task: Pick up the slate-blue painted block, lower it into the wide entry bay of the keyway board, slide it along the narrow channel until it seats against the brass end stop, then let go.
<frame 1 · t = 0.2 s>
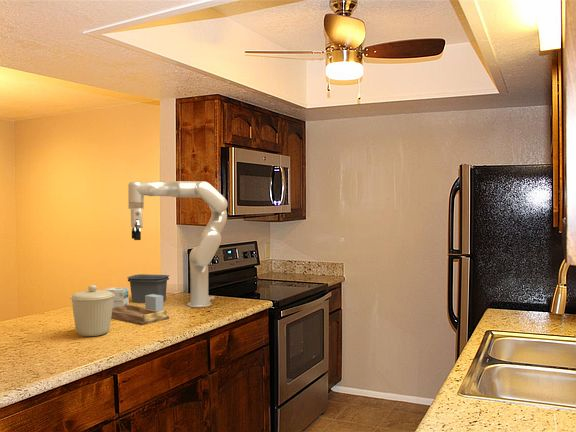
hand: (136, 239, 280), 36 cm above the worktop, tool pointing down, fingers open, 9 cm apart
canister: (93, 334, 234), on the worktop
light bulb box: (116, 309, 284), on the worktop
panel block: (154, 311, 278), on the worktop
keyway board: (135, 317, 264), on the worktop
storage bin: (149, 301, 303), on the worktop
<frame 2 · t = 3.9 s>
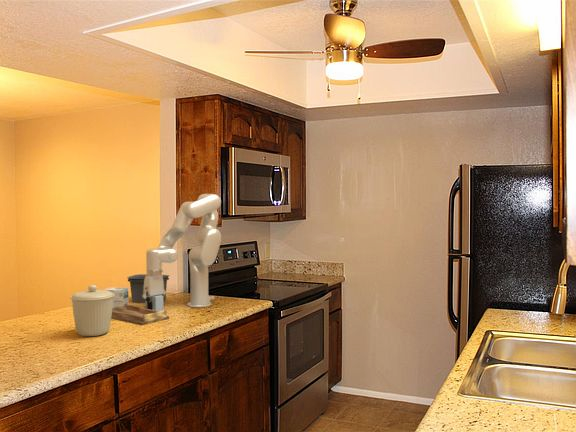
hand: (154, 308, 278), 1 cm above the worktop, tool pointing down, fingers closed on panel block, 5 cm apart
panel block: (154, 311, 278), on the worktop, touching gripper
everything else where it was.
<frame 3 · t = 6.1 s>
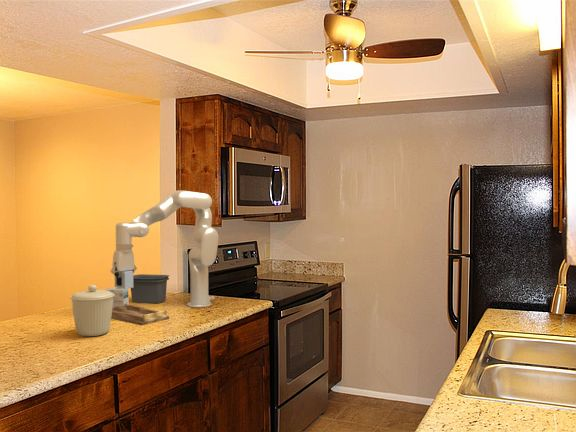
hand: (124, 284, 268), 15 cm above the worktop, tool pointing down, fingers closed on panel block, 5 cm apart
panel block: (124, 287, 268), point 14 cm above the worktop, touching gripper
everything else where it was.
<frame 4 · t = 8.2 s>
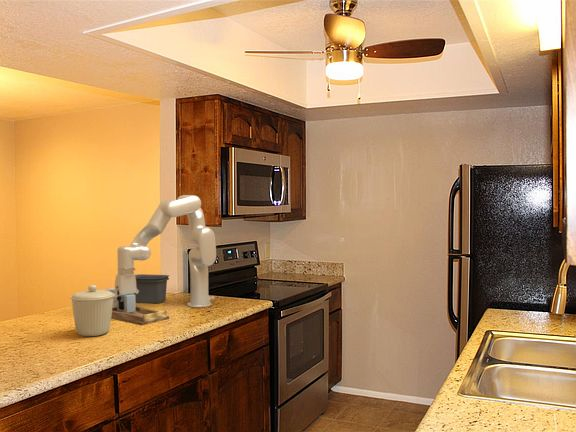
hand: (126, 307, 268), 4 cm above the worktop, tool pointing down, fingers closed on panel block, 5 cm apart
panel block: (126, 310, 268), point 2 cm above the worktop, touching gripper
everything else where it was.
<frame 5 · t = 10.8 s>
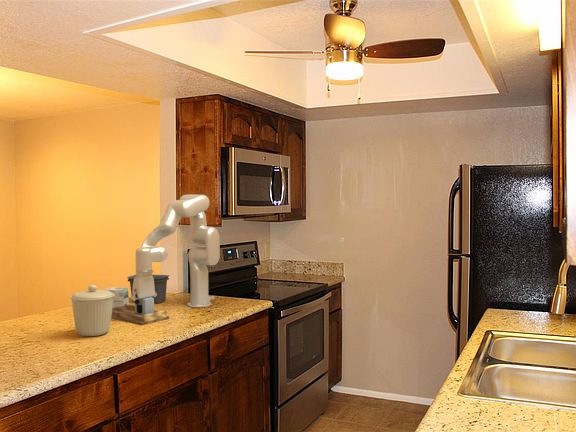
hand: (144, 311, 260), 4 cm above the worktop, tool pointing down, fingers closed on panel block, 5 cm apart
panel block: (144, 314, 260), point 2 cm above the worktop, touching gripper
everything else where it was.
when the fingers open (4 cm above the worktop, at t = 12.9 s): panel block drops 1 cm, resting on keyway board.
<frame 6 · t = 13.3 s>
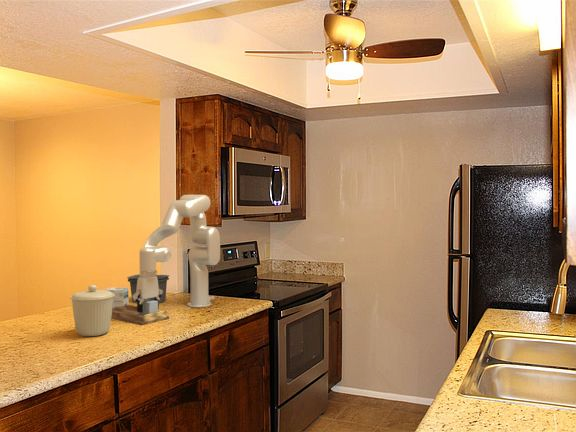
hand: (148, 310, 258), 5 cm above the worktop, tool pointing down, fingers open, 9 cm apart
panel block: (148, 317, 258), point 1 cm above the worktop, touching keyway board
everything else where it was.
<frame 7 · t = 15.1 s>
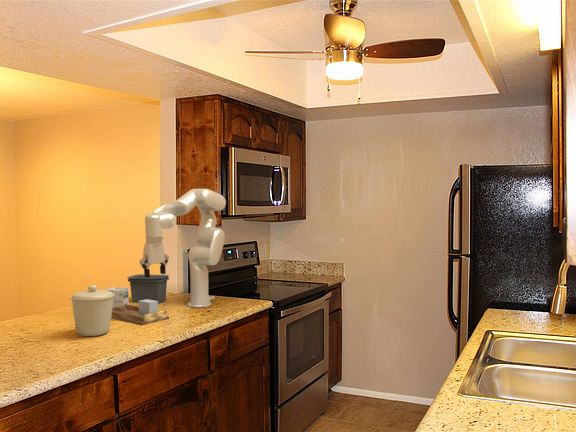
hand: (155, 275, 263), 20 cm above the worktop, tool pointing down, fingers open, 9 cm apart
nothing on the worktop moved.
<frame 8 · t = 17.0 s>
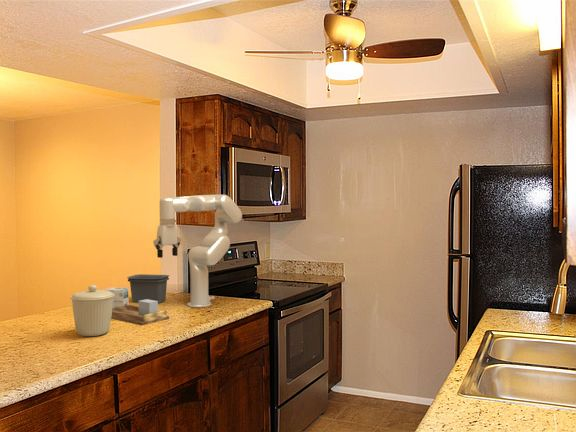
hand: (167, 256, 274), 28 cm above the worktop, tool pointing down, fingers open, 9 cm apart
nothing on the worktop moved.
at the end: panel block 1.0 cm from the target spot on the keyway board, point 1.2 cm above the keyway board's base; panel block tilted 0°; the gripper is holding nothing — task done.
